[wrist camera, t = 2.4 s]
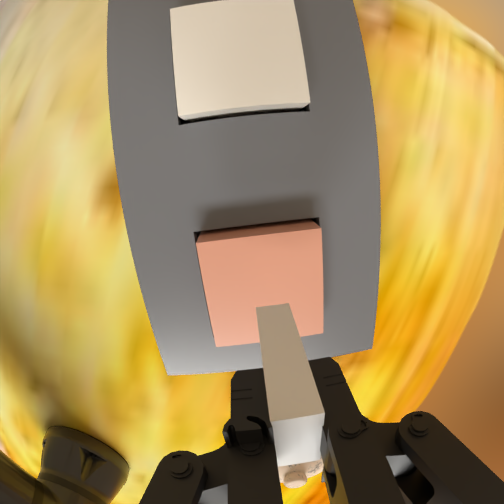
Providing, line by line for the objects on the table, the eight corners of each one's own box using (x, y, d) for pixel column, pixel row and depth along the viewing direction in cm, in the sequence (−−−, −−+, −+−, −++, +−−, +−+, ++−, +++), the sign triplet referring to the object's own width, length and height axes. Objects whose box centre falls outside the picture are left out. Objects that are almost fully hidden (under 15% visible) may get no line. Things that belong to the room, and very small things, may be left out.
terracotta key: (218, 316, 22) (216, 347, 18) (203, 226, 20) (195, 243, 16) (310, 304, 22) (323, 333, 19) (305, 214, 20) (321, 228, 16)
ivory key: (189, 124, 18) (178, 116, 14) (181, 33, 16) (169, 8, 12) (296, 112, 18) (310, 102, 14) (282, 22, 16) (292, -3, 12)
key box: (179, 333, 27) (167, 375, 21) (134, 27, 18) (108, -2, 12) (348, 312, 27) (372, 348, 21) (323, 7, 18) (345, -25, 12)
